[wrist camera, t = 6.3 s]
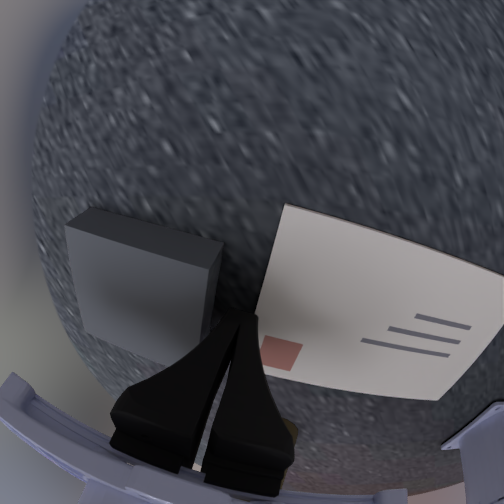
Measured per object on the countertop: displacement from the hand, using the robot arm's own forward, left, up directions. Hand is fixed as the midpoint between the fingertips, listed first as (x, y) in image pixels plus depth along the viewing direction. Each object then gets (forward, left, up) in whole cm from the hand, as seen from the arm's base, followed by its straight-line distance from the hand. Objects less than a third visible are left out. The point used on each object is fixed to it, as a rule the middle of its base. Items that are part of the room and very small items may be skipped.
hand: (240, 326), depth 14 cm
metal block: (+5, 0, -1) cm, 5 cm away
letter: (-7, -1, -1) cm, 8 cm away
